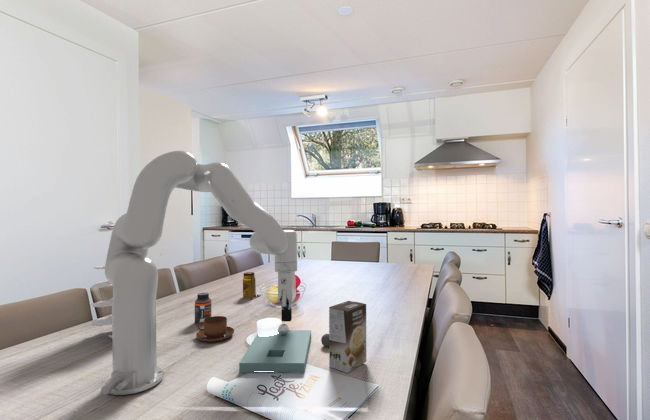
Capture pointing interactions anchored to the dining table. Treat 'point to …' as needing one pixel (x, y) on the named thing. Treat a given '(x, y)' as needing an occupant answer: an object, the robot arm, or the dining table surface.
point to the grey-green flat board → (277, 353)
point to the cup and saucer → (214, 329)
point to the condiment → (249, 285)
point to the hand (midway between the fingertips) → (286, 320)
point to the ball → (283, 329)
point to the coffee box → (347, 336)
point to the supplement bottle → (202, 307)
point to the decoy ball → (325, 340)
